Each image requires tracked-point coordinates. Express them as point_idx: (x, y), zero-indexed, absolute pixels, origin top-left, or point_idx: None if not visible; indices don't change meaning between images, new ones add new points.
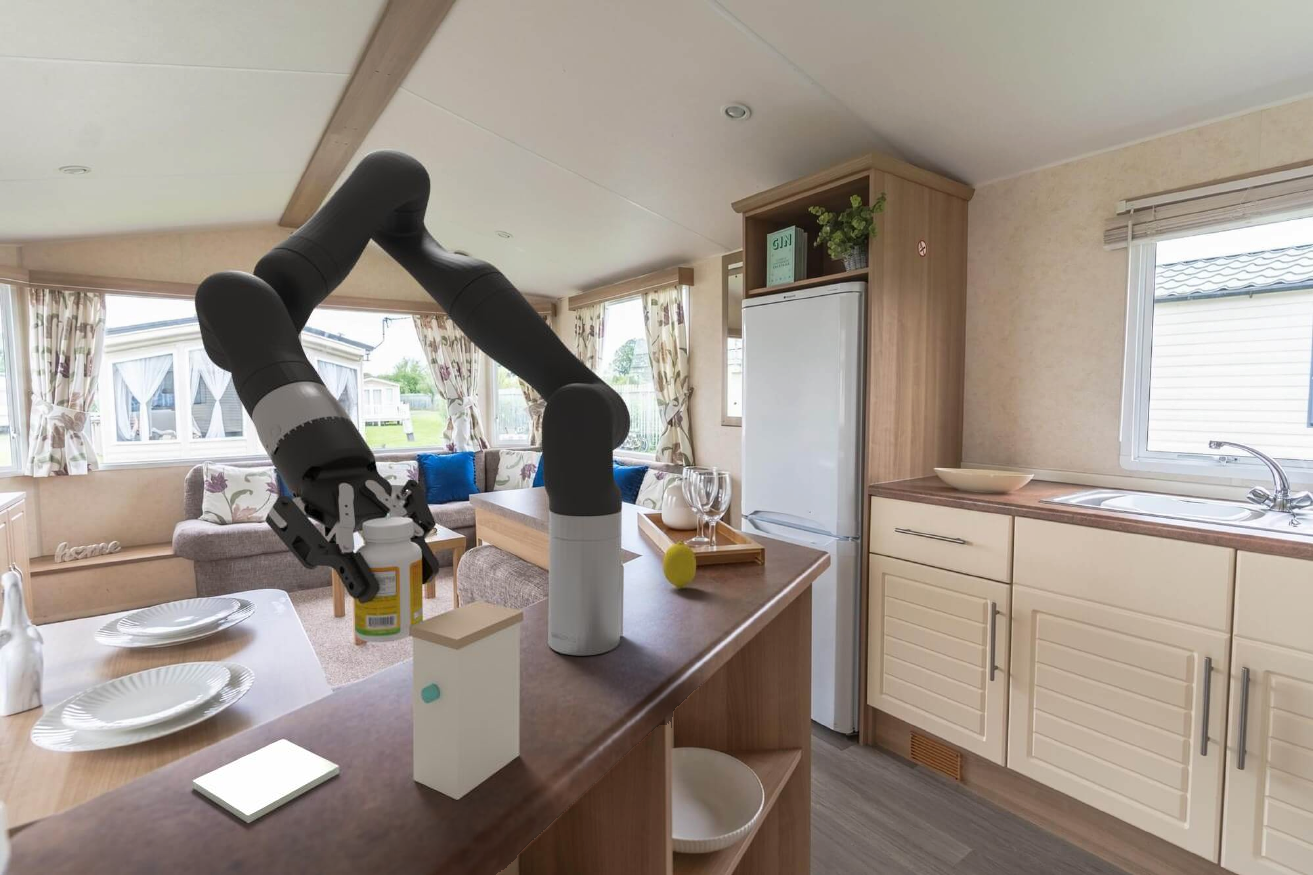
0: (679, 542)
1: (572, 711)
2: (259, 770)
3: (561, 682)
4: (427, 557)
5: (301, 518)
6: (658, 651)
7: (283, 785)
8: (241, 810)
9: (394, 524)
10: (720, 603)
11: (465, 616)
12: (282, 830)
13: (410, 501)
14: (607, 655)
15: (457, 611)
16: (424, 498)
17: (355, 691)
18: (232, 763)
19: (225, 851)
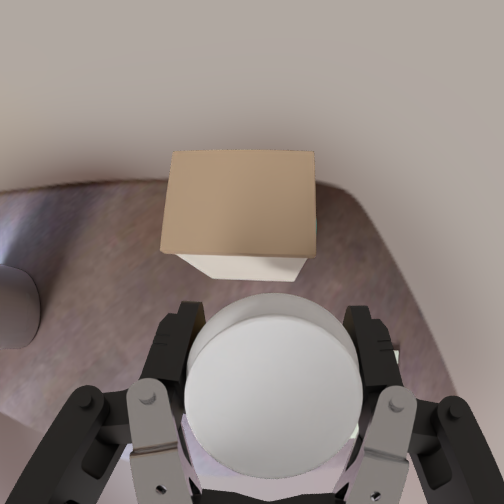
0: None
1: (129, 229)
2: None
3: (85, 276)
4: (187, 326)
5: (485, 492)
6: (12, 227)
7: None
8: (397, 361)
9: (306, 333)
10: None
11: (234, 208)
12: (388, 319)
13: (64, 498)
14: (28, 268)
15: (220, 238)
16: (26, 468)
17: (204, 466)
18: None
19: (418, 331)
